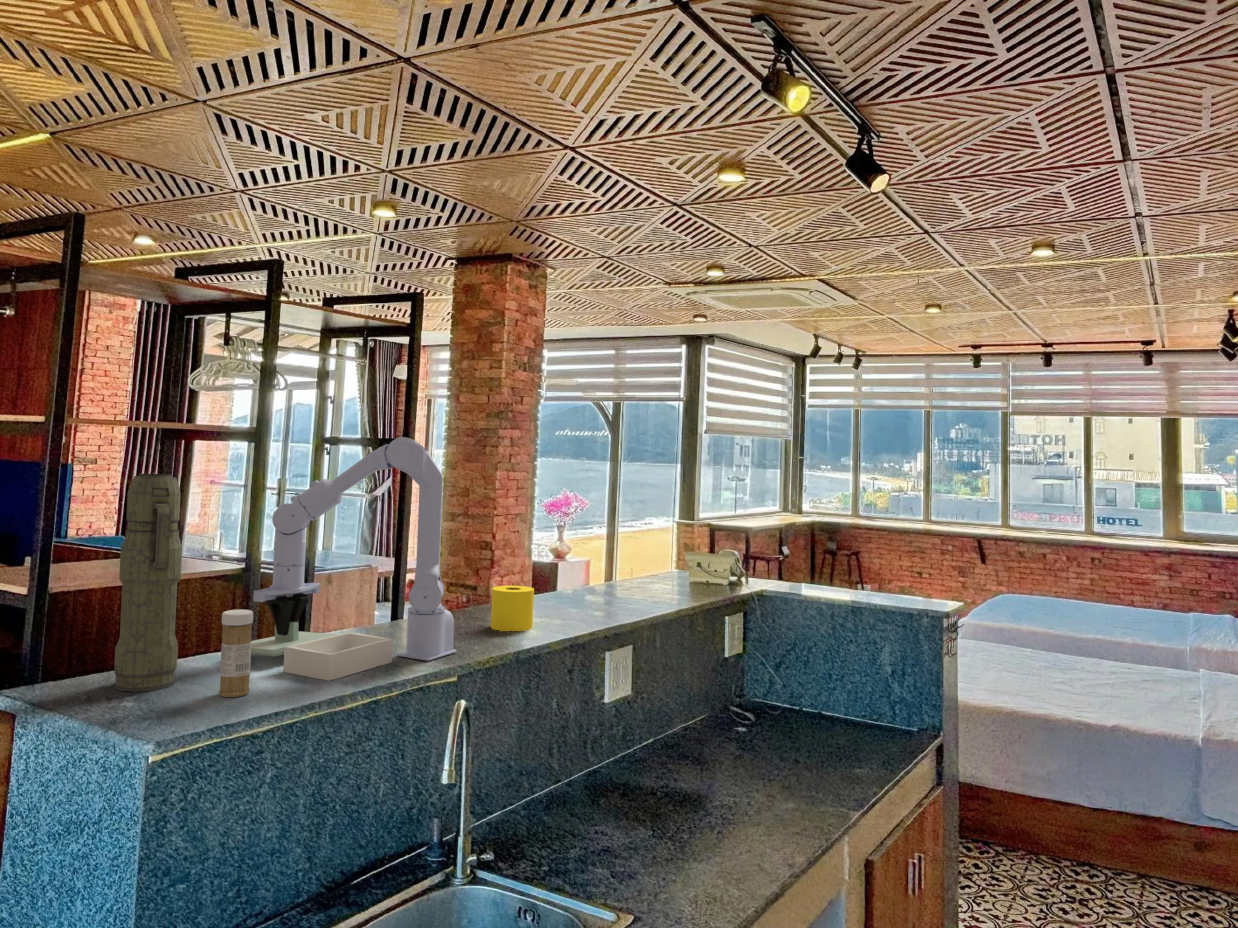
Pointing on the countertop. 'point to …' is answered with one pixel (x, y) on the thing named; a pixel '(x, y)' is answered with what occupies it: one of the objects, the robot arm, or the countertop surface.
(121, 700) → the countertop surface
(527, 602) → the yellow paper roll
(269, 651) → the lid
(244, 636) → the sprinkles bottle
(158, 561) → the thermos
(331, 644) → the tub
